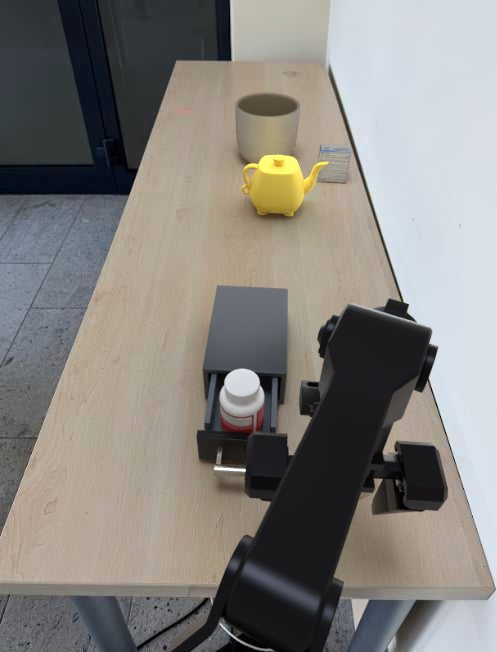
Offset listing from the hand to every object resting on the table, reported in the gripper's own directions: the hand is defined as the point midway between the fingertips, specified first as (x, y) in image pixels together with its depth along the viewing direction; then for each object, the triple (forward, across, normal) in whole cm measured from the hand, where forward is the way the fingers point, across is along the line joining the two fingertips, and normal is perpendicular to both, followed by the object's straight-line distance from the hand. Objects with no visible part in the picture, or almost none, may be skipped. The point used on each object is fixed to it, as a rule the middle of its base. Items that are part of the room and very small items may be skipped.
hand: (330, 507), depth 53 cm
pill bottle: (+10, +11, -16) cm, 22 cm away
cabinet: (+12, +11, -32) cm, 36 cm away
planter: (+12, +11, -107) cm, 108 cm away
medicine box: (+12, -7, -97) cm, 98 cm away
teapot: (+12, +6, -82) cm, 83 cm away
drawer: (+11, +11, -18) cm, 24 cm away
